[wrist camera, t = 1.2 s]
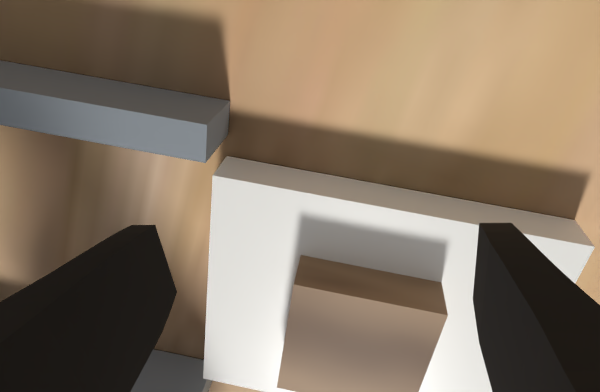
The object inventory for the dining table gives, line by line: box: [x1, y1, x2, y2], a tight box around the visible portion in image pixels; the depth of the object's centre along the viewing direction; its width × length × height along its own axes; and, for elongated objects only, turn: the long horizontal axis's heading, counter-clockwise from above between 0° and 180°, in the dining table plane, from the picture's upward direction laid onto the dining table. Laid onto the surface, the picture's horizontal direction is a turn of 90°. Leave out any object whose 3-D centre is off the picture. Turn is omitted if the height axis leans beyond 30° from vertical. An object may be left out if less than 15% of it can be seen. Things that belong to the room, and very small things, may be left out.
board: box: [203, 156, 595, 392], centre depth 22 cm, size 12×15×2 cm
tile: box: [277, 255, 448, 392], centre depth 20 cm, size 6×6×2 cm
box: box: [0, 60, 230, 392], centre depth 22 cm, size 17×16×3 cm
